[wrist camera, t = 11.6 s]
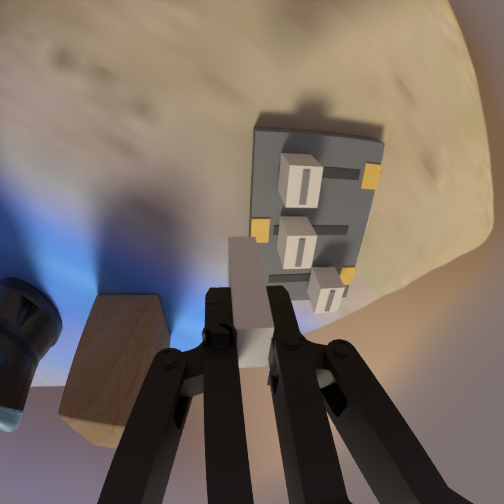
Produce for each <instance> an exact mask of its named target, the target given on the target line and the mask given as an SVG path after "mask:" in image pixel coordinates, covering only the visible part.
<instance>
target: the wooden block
mask: <svg viewBox="0 0 504 504" xmlns="http://www.w3.org/2000/svg"><path fill="white" fill-rule="evenodd" d="M170 339H171V338H170V335H169V331H168V327H167V324H166V320H165V316H164V312H163V308H162V304H161V300H160V297H159V295H157V294H152V295H110V294H99V295H97V297H96V299H95V302H94V304H93V307H92V309H91V312H90V314H89V317H88V319H87V322H86V325H85V327H84V330H83V333H82V336H81V338H80V341H79V344H78V347H77V350H76V353H75V356H74V359H73V362H72V365H71V368H70V372H69V375H68V378H67V382H66V385H65V389H64V393H63V396H62V400H61V404H60V408H59V412H58V413H59V416H60V417H61V418H62V419H63V420H64V421H65V422H66V423H68V424H69V425H70V426H71V427H72V428H73V429H75V430H76V431H77V432H78V433H79V434H81V435H82V436H83V437H84V438H86V439H87V440H88V441H89V442H91V443H92V444H93V445H98V446H103V447H110V448H115V449H117V447H118V444H119V441H120V439H121V436H122V434H123V431H124V429H125V426H126V423H127V421H128V418H129V416H130V413H131V411H132V408H133V406H134V403H135V401H136V398H137V396H138V394H139V391H140V389H141V386H142V384H143V382H144V379H145V377H146V374H147V372H148V370H149V367H150V365H151V363H152V360H153V358H154V356H155V355H156V354H157V353H158V352H159V351H161V350H162V349H166V348H169V347H170Z"/></svg>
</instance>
